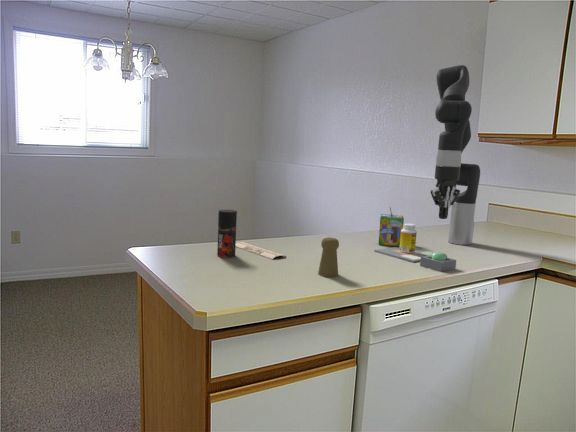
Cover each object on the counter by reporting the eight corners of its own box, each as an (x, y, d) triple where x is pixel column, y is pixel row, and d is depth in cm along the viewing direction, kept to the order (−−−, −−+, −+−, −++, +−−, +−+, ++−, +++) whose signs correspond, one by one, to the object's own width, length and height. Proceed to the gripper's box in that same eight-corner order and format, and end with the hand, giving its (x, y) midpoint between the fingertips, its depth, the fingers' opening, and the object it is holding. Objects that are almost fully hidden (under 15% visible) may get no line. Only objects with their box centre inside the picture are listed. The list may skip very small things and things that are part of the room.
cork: (316, 271, 143) (318, 235, 141) (336, 271, 143) (338, 236, 142) (319, 277, 137) (321, 239, 135) (340, 277, 137) (342, 240, 136)
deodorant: (238, 254, 159) (239, 210, 156) (230, 258, 153) (231, 212, 151) (222, 252, 160) (223, 209, 158) (214, 256, 155) (215, 211, 153)
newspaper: (286, 259, 158) (286, 254, 158) (269, 262, 154) (270, 256, 153) (245, 246, 176) (245, 241, 176) (229, 248, 171) (229, 243, 171)
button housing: (434, 263, 161) (435, 254, 160) (455, 268, 154) (456, 259, 154) (420, 265, 156) (420, 257, 156) (440, 271, 150) (441, 262, 149)
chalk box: (401, 247, 184) (405, 209, 182) (378, 245, 186) (381, 208, 184) (401, 242, 193) (404, 207, 191) (378, 240, 195) (381, 205, 193)
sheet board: (407, 246, 186) (407, 245, 185) (447, 256, 171) (447, 255, 171) (374, 251, 174) (374, 249, 174) (413, 262, 160) (413, 260, 160)
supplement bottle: (411, 254, 169) (414, 226, 168) (396, 251, 172) (399, 224, 171) (417, 252, 174) (419, 224, 172) (402, 249, 177) (405, 222, 175)
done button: (436, 263, 158) (437, 251, 158) (447, 266, 155) (448, 254, 154) (428, 264, 156) (429, 252, 155) (439, 267, 152) (440, 255, 151)
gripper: (450, 164, 157) (445, 215, 160) (425, 164, 149) (420, 218, 152) (470, 165, 151) (465, 219, 154) (445, 165, 143) (440, 221, 146)
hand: (442, 218), depth 153 cm, fingers closed
